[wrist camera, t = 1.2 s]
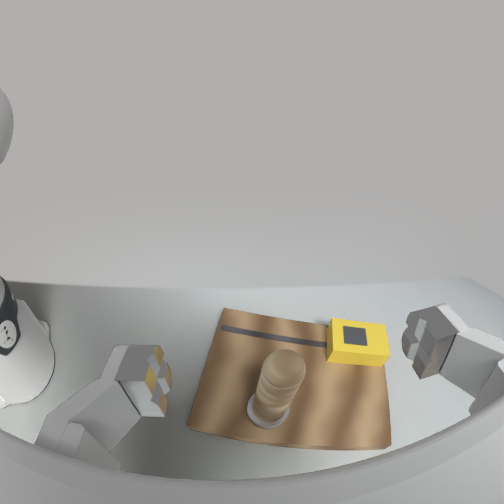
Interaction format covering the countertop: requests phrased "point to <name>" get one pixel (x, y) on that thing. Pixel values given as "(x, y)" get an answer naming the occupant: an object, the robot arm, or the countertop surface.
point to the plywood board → (306, 398)
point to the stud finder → (357, 343)
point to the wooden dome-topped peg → (276, 388)
